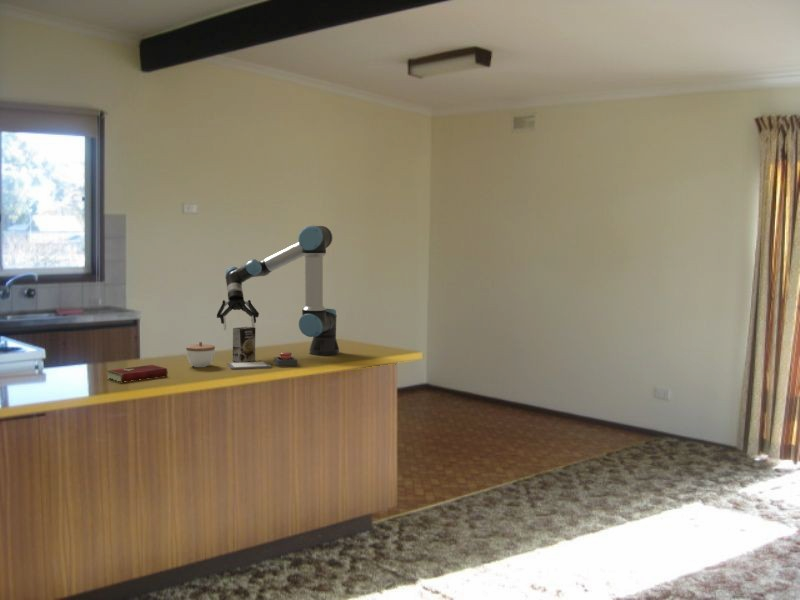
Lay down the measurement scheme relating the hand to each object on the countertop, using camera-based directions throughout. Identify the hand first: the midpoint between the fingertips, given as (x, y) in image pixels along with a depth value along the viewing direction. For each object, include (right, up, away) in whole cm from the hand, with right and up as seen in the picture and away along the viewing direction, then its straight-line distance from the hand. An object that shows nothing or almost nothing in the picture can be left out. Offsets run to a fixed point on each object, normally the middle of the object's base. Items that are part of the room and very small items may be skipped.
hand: (239, 328), depth 384 cm
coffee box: (+3, -16, -6) cm, 17 cm away
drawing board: (+8, -17, -19) cm, 27 cm away
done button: (+24, -14, -14) cm, 31 cm away
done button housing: (+24, -17, -13) cm, 32 cm away
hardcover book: (-33, -20, -50) cm, 63 cm away
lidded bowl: (-14, -17, -21) cm, 30 cm away
